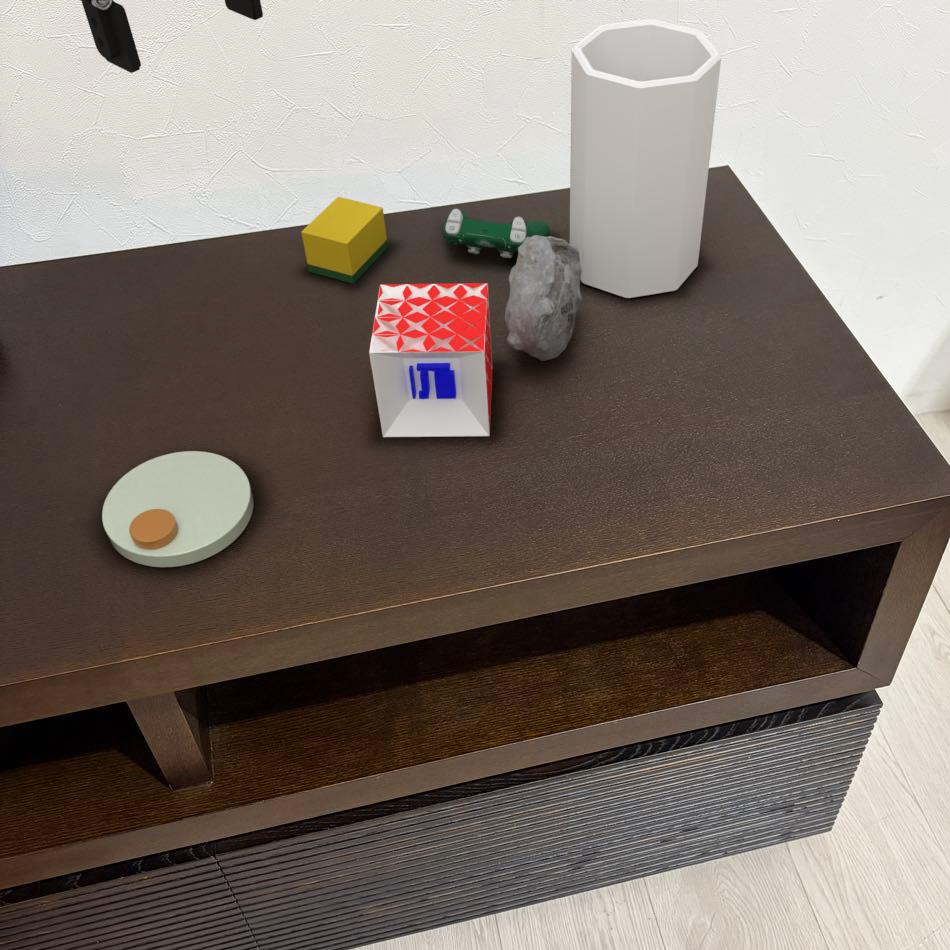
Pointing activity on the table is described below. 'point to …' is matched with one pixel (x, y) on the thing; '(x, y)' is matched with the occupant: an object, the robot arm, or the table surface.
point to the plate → (181, 506)
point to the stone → (543, 296)
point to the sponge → (345, 239)
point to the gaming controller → (490, 233)
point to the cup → (640, 153)
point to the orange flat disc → (153, 529)
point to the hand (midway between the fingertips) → (186, 38)
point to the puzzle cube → (432, 360)
